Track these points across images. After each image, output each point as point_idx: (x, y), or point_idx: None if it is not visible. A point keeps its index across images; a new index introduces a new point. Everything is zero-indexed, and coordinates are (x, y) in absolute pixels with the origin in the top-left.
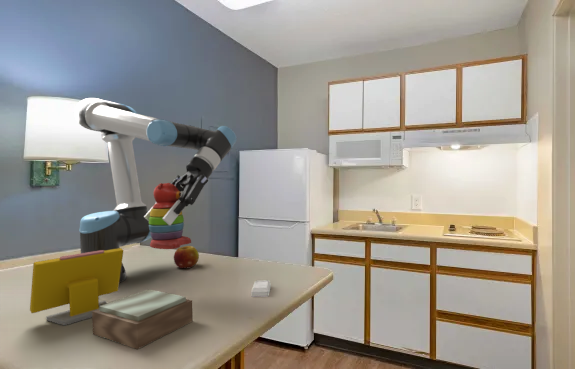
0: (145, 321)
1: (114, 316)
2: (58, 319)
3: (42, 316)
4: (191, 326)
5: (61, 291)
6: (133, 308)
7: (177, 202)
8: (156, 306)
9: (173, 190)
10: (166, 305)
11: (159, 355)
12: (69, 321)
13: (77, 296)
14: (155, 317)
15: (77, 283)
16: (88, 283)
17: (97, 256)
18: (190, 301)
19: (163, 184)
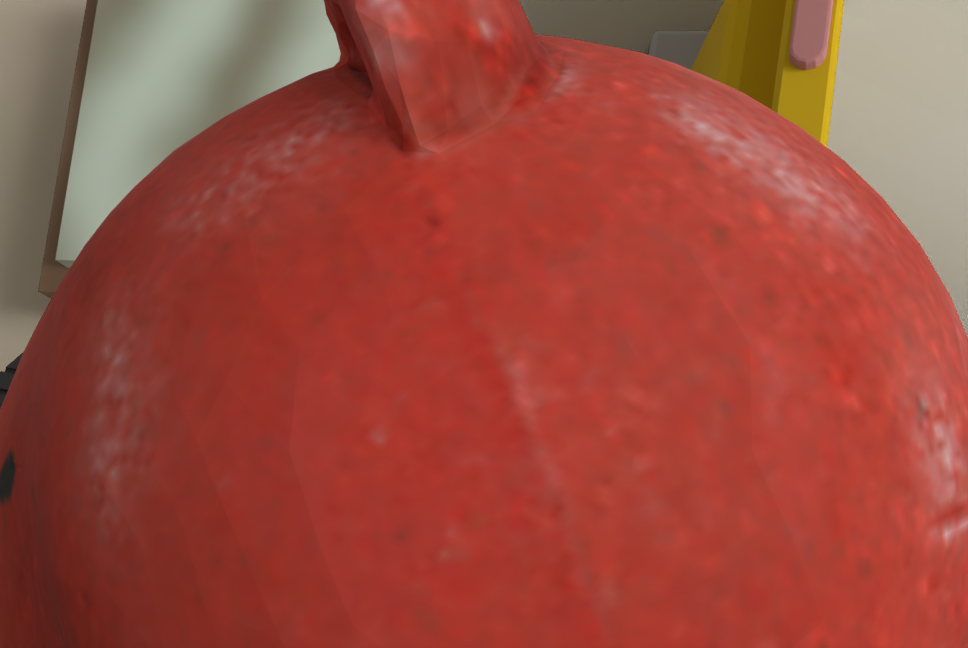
0: (89, 6)
1: None
2: (705, 31)
3: (874, 62)
4: None
5: None
6: (209, 24)
7: None
8: (112, 87)
9: (14, 413)
10: (78, 125)
11: (18, 33)
12: (649, 52)
13: (708, 47)
14: (80, 56)
15: (741, 9)
16: (719, 67)
17: (783, 27)
18: (40, 277)
19: (365, 136)
